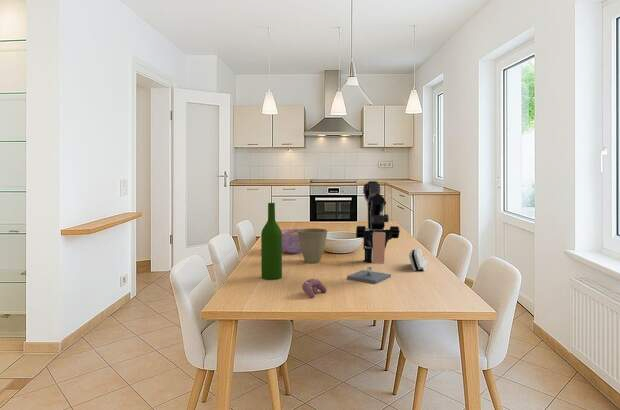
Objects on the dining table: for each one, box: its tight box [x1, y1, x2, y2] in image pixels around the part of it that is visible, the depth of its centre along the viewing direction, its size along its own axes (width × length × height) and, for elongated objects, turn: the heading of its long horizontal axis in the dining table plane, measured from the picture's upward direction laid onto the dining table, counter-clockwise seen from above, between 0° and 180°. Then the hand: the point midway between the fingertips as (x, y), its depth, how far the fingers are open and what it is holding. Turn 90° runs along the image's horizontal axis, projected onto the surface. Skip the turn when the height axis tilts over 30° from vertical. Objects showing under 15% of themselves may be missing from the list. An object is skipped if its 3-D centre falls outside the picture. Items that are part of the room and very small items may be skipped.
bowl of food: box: [281, 228, 302, 255], centre depth 265 cm, size 20×20×12 cm
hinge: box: [408, 248, 429, 272], centre depth 229 cm, size 17×5×10 cm, turn 159°
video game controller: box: [301, 278, 327, 299], centre depth 183 cm, size 10×5×7 cm, turn 146°
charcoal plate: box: [346, 269, 392, 284], centre depth 208 cm, size 14×14×1 cm
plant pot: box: [298, 227, 328, 264], centre depth 240 cm, size 15×15×16 cm
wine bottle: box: [260, 202, 283, 281], centre depth 207 cm, size 9×9×32 cm
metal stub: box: [366, 266, 372, 276], centre depth 208 cm, size 2×2×3 cm
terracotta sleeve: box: [371, 232, 386, 265], centre depth 207 cm, size 5×5×13 cm
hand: (378, 247), depth 206 cm, fingers closed on terracotta sleeve, 5 cm apart
